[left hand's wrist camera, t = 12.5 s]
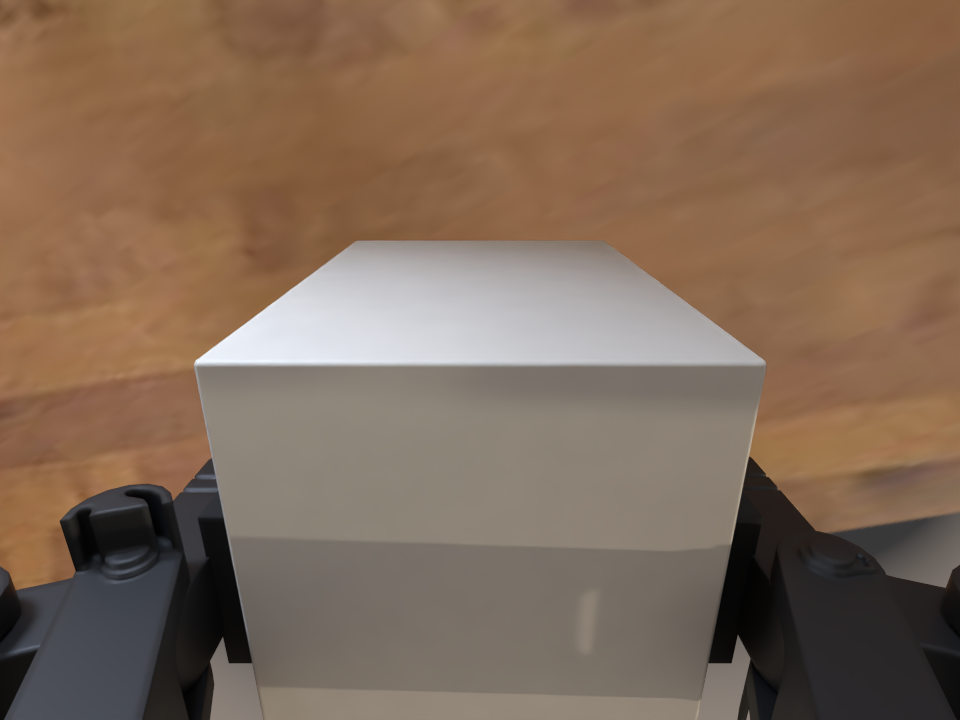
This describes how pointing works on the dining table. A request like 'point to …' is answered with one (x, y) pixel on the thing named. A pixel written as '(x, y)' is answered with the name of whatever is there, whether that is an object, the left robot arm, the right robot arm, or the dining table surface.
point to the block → (480, 484)
